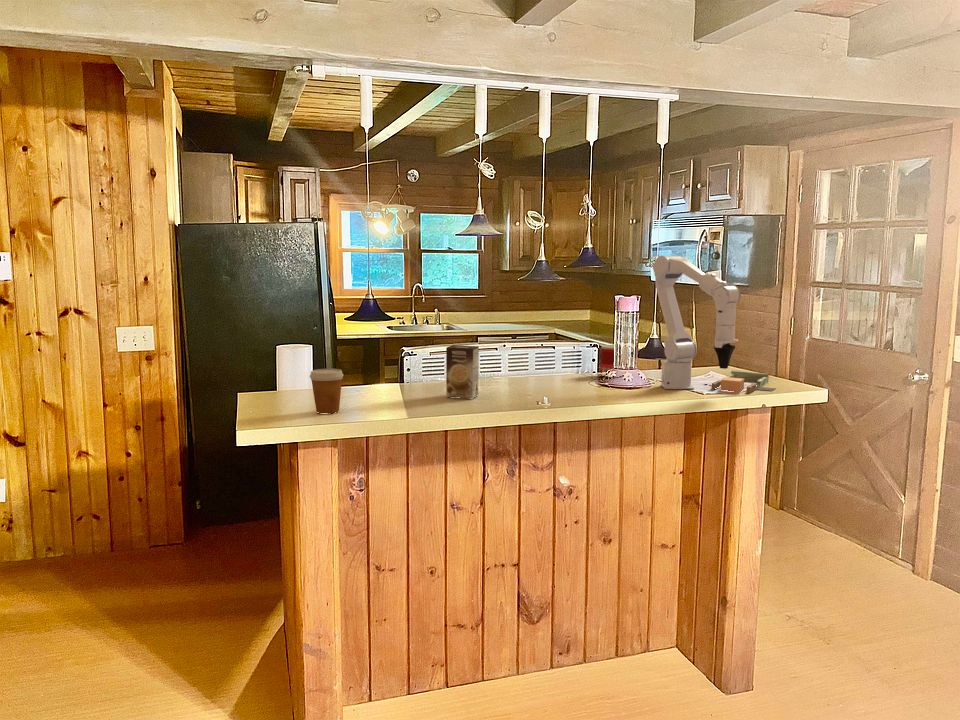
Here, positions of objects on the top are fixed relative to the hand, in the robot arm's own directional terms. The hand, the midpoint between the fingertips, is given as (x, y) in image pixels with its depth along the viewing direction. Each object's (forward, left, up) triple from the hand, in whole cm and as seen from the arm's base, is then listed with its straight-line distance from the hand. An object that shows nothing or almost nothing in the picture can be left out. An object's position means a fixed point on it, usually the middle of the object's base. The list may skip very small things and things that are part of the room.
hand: (723, 368), depth 239 cm
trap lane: (+10, +18, -9) cm, 23 cm away
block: (+5, +10, -9) cm, 14 cm away
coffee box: (-82, -4, -9) cm, 82 cm away
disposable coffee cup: (-118, -28, -9) cm, 122 cm away
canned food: (-31, +37, -9) cm, 48 cm away
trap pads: (+9, +17, -9) cm, 21 cm away
